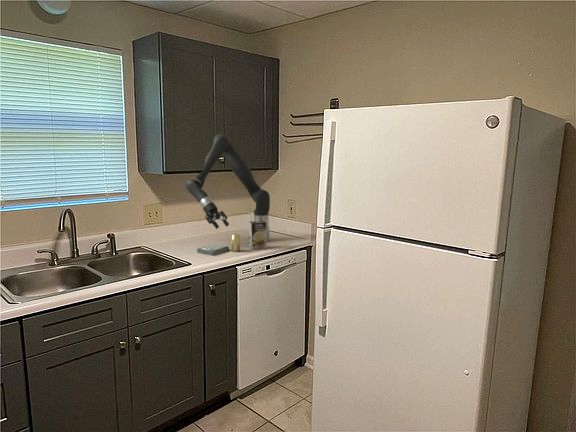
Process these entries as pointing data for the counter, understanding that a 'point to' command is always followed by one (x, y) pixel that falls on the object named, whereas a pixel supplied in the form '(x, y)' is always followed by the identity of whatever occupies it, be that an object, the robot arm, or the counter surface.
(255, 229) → the coffee box
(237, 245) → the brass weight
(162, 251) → the counter surface
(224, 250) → the kitchen scale
